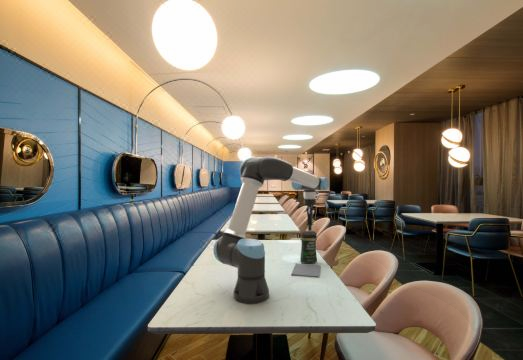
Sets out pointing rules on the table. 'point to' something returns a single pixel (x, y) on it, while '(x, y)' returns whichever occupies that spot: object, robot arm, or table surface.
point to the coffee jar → (308, 247)
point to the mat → (306, 270)
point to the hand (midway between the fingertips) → (310, 235)
